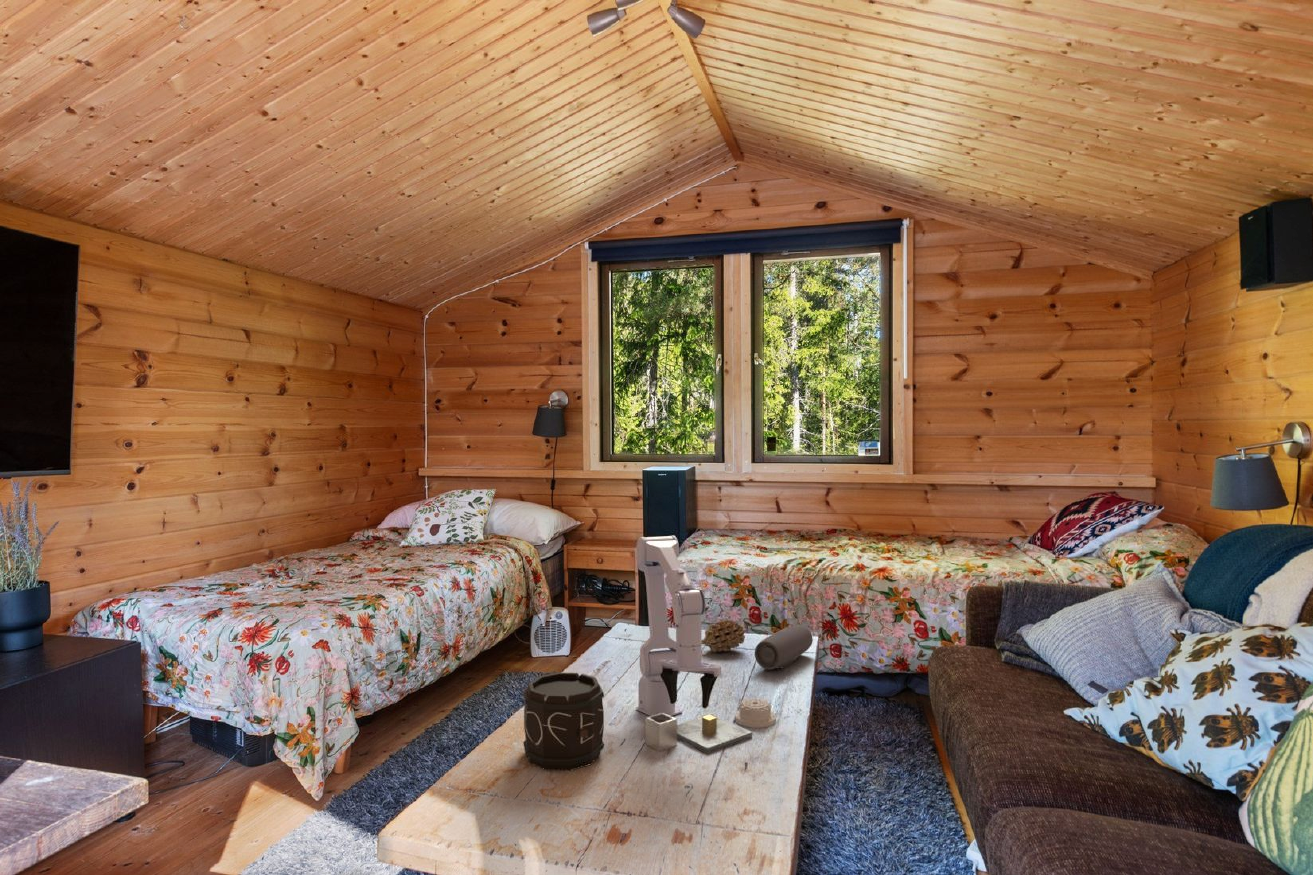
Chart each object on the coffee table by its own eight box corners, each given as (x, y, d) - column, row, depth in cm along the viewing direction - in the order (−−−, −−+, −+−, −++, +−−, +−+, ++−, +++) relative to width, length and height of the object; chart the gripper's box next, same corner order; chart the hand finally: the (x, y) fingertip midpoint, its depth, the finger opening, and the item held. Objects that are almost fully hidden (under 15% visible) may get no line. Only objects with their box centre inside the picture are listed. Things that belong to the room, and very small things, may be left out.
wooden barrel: (543, 782, 155) (542, 705, 155) (510, 749, 170) (510, 679, 170) (620, 760, 165) (620, 688, 164) (583, 732, 180) (582, 665, 180)
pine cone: (741, 646, 249) (741, 615, 248) (749, 655, 239) (749, 623, 239) (674, 649, 245) (674, 618, 245) (679, 658, 236) (679, 626, 236)
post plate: (667, 733, 179) (667, 715, 179) (711, 718, 188) (711, 701, 188) (707, 753, 168) (707, 734, 168) (752, 737, 177) (752, 719, 177)
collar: (645, 743, 173) (645, 717, 173) (662, 738, 176) (662, 712, 176) (659, 751, 169) (659, 724, 169) (676, 745, 173) (676, 718, 172)
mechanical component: (732, 727, 183) (774, 730, 181) (732, 708, 183) (774, 712, 181) (736, 711, 193) (776, 714, 191) (736, 694, 193) (776, 697, 191)
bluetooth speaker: (786, 651, 243) (787, 620, 243) (814, 656, 238) (814, 624, 237) (752, 670, 225) (752, 636, 224) (781, 676, 219) (781, 642, 219)
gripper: (652, 644, 171) (652, 705, 170) (713, 651, 165) (713, 714, 165) (664, 637, 177) (665, 696, 177) (724, 643, 171) (724, 704, 171)
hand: (689, 704), depth 171 cm, fingers open, 7 cm apart
